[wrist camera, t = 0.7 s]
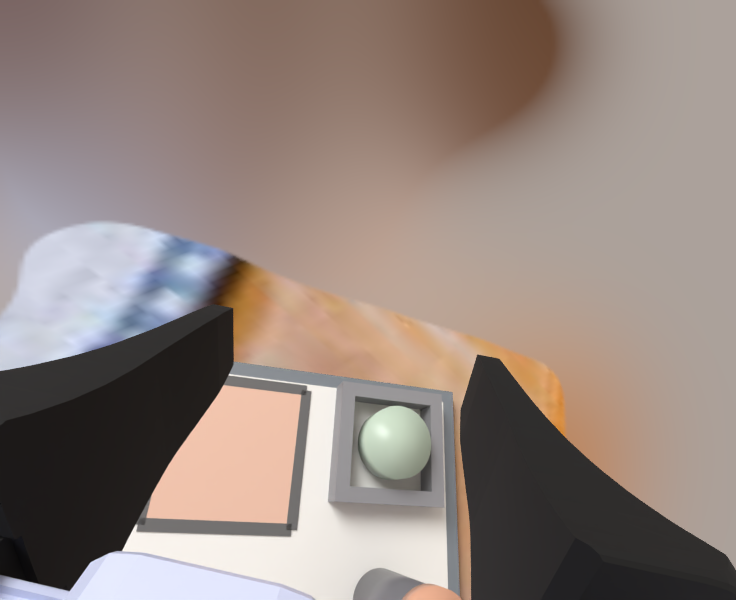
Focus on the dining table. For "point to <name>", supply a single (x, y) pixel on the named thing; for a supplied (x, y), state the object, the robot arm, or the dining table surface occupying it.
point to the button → (394, 443)
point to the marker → (398, 588)
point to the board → (305, 487)
